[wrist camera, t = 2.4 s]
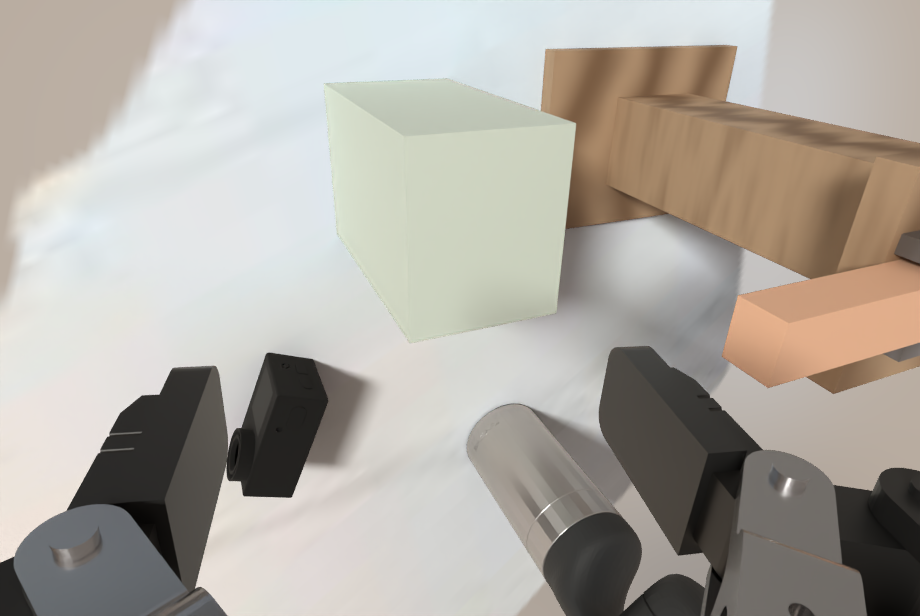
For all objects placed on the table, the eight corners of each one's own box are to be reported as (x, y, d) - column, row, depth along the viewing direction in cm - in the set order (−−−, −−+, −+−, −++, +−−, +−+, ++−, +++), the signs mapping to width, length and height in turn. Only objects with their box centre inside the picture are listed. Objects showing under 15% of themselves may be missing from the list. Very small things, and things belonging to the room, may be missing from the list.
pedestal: (447, 78, 48) (576, 123, 33) (446, 219, 54) (556, 313, 39) (323, 83, 45) (404, 136, 29) (336, 233, 50) (409, 343, 35)
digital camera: (253, 348, 52) (263, 392, 47) (313, 357, 55) (329, 400, 49) (221, 444, 55) (227, 497, 50) (280, 448, 58) (292, 498, 52)
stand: (725, 44, 58) (1245, 104, 30) (692, 204, 65) (1082, 370, 37) (545, 49, 50) (1007, 131, 23) (531, 227, 58) (865, 453, 30)
